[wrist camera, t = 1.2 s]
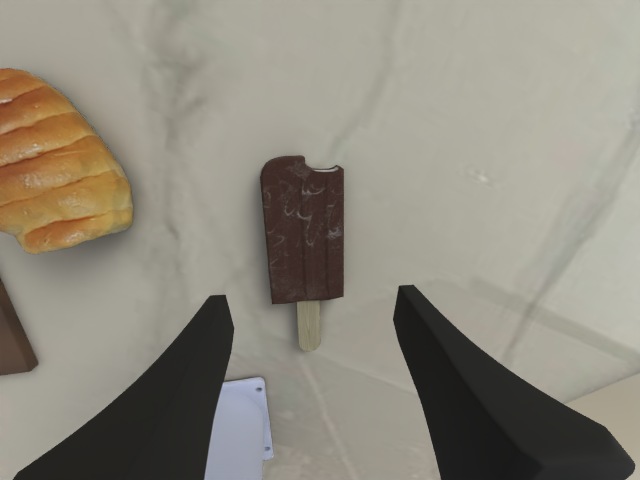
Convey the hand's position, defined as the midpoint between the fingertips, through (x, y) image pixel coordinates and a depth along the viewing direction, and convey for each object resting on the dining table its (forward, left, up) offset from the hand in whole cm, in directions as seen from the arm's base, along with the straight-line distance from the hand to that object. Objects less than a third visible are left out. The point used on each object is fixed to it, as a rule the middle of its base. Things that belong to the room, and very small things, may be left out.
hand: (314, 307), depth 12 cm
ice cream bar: (-2, -1, -10) cm, 10 cm away
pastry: (+5, +13, -10) cm, 17 cm away
